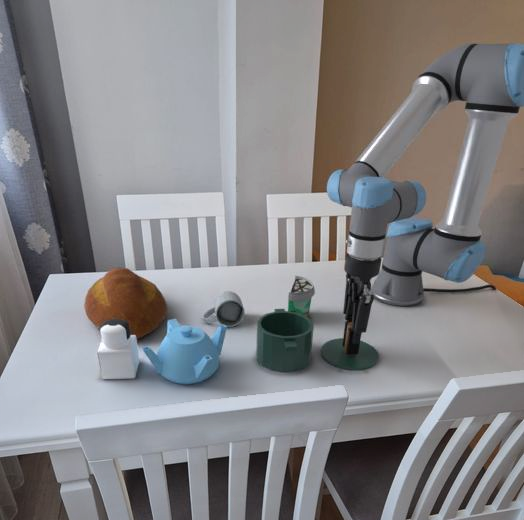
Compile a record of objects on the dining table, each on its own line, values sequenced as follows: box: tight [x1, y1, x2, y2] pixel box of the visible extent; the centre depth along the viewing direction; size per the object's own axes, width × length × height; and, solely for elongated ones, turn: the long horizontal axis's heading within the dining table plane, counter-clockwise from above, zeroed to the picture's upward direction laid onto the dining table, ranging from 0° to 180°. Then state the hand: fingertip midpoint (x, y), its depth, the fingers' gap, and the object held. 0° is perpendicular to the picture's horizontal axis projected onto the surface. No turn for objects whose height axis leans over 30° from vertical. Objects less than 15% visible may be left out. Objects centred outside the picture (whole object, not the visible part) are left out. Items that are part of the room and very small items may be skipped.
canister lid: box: [320, 322, 380, 371], centre depth 112 cm, size 14×14×9 cm
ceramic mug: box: [202, 290, 246, 328], centre depth 126 cm, size 11×8×8 cm
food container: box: [287, 275, 316, 318], centre depth 127 cm, size 12×6×10 cm, turn 168°
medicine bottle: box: [96, 319, 140, 380], centre depth 103 cm, size 7×7×12 cm
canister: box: [255, 308, 315, 373], centre depth 110 cm, size 13×18×10 cm
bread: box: [83, 266, 168, 340], centre depth 126 cm, size 21×33×12 cm, turn 20°
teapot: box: [141, 318, 228, 385], centre depth 104 cm, size 15×15×11 cm
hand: (350, 349), depth 113 cm, fingers closed on canister lid, 3 cm apart
